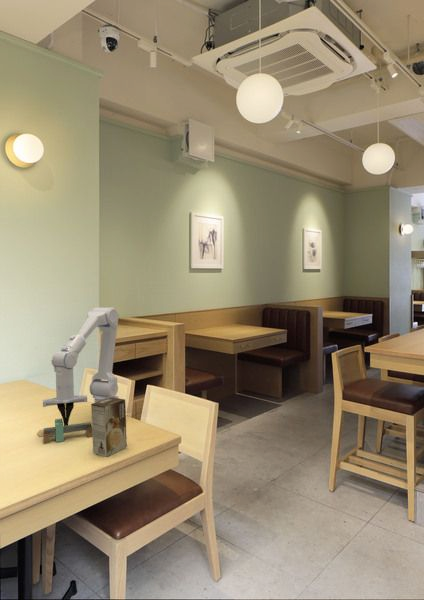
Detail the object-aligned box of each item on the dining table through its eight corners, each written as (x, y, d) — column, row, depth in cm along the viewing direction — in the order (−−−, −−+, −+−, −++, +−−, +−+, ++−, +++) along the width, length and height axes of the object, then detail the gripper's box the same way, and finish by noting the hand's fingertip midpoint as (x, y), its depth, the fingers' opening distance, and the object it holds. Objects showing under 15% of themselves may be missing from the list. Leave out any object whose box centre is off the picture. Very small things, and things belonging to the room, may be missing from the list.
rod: (91, 432, 155) (90, 420, 155) (92, 436, 151) (92, 424, 151) (43, 438, 149) (43, 426, 149) (43, 443, 145) (43, 431, 144)
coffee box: (113, 443, 144) (112, 396, 144) (127, 447, 141) (126, 399, 140) (92, 453, 137) (90, 403, 136) (106, 457, 133) (105, 406, 132)
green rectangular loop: (62, 435, 152) (62, 418, 152) (63, 441, 147) (63, 423, 146) (55, 436, 151) (54, 419, 151) (56, 442, 146) (55, 424, 145)
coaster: (62, 426, 161) (62, 425, 161) (64, 434, 153) (64, 433, 153) (36, 430, 158) (36, 429, 158) (37, 438, 149) (37, 437, 149)
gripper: (42, 390, 142) (43, 431, 143) (88, 386, 148) (88, 425, 149) (42, 385, 149) (43, 424, 150) (85, 381, 155) (86, 419, 155)
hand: (65, 424), depth 150 cm, fingers closed
